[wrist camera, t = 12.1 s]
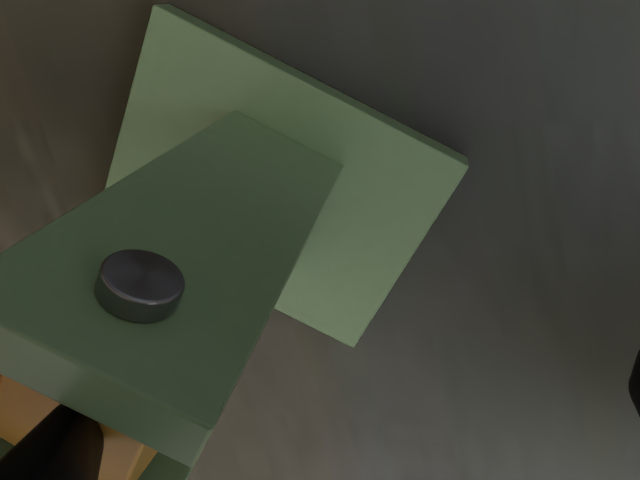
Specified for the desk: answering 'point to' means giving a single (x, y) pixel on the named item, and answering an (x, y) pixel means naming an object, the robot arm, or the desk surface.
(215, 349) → the green lever stand
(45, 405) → the lever
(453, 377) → the desk surface
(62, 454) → the robot arm
